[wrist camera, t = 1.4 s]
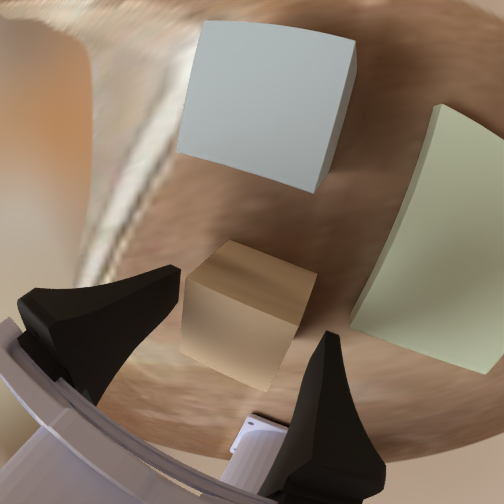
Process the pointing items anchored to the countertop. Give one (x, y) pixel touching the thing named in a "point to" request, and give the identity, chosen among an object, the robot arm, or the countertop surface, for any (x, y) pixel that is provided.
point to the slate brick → (268, 100)
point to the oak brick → (243, 312)
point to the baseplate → (444, 252)
